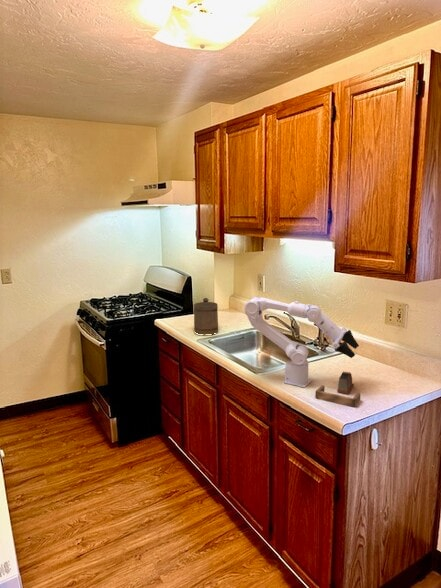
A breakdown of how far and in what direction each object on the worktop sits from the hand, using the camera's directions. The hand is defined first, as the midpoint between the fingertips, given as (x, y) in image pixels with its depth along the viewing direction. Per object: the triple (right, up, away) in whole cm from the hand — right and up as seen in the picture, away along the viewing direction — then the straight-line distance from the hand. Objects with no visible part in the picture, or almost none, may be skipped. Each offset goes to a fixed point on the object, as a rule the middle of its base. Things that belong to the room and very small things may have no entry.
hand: (355, 351), depth 166 cm
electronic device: (-3, -16, +2) cm, 17 cm away
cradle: (-9, -18, -7) cm, 21 cm away
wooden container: (-64, -1, +89) cm, 109 cm away
